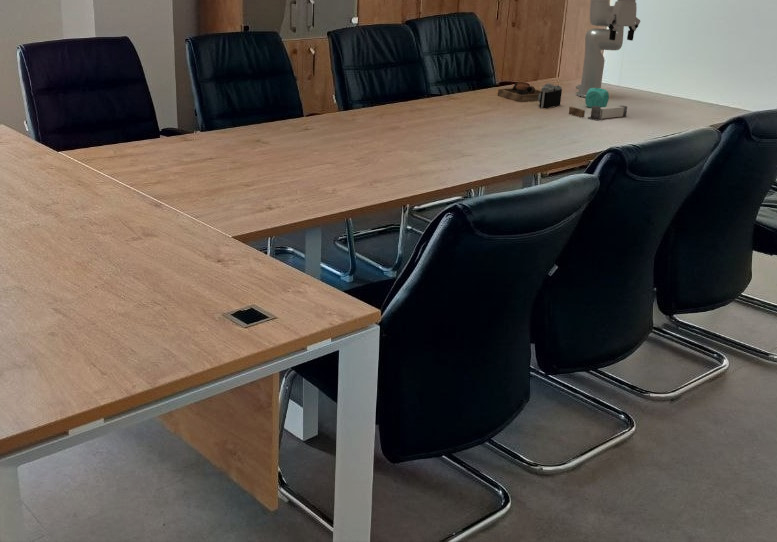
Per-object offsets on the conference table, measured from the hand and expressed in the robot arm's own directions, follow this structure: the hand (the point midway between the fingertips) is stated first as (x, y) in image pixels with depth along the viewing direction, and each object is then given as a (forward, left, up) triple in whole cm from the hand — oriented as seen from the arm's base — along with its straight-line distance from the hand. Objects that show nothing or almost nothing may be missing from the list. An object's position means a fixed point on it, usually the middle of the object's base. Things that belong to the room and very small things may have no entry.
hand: (621, 40), depth 390 cm
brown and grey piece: (+2, -16, -32) cm, 36 cm away
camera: (-23, -17, -32) cm, 43 cm away
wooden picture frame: (-41, -15, -32) cm, 54 cm away
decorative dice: (-13, +4, -32) cm, 35 cm away
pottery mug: (-41, -15, -32) cm, 54 cm away
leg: (+6, -5, -31) cm, 32 cm away
